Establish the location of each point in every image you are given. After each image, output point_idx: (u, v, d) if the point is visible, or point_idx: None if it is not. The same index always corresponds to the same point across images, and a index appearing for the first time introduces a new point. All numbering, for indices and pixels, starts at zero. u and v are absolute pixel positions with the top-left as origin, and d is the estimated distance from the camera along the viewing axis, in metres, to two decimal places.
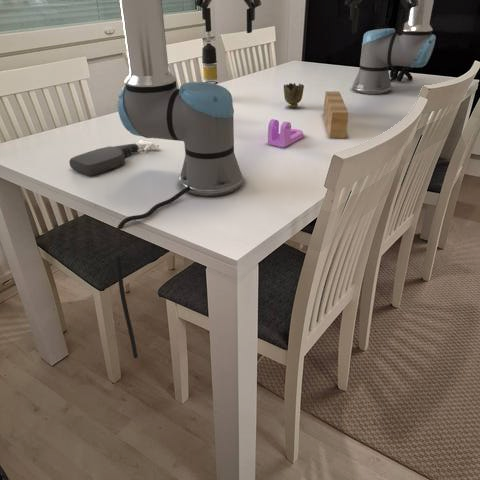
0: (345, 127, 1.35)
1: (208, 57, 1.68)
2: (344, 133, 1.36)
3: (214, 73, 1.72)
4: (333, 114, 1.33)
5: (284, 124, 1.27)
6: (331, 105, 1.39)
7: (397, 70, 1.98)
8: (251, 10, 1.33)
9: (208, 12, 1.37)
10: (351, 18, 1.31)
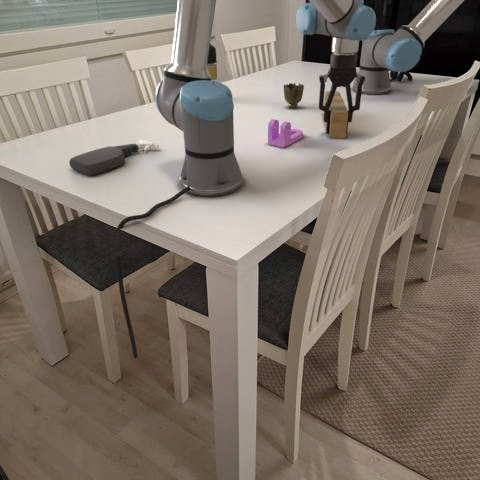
0: (345, 127, 1.35)
1: (208, 57, 1.68)
2: (344, 133, 1.36)
3: (214, 73, 1.72)
4: (333, 114, 1.33)
5: (284, 124, 1.27)
6: (331, 105, 1.39)
7: None
8: (349, 113, 1.36)
9: None
10: None
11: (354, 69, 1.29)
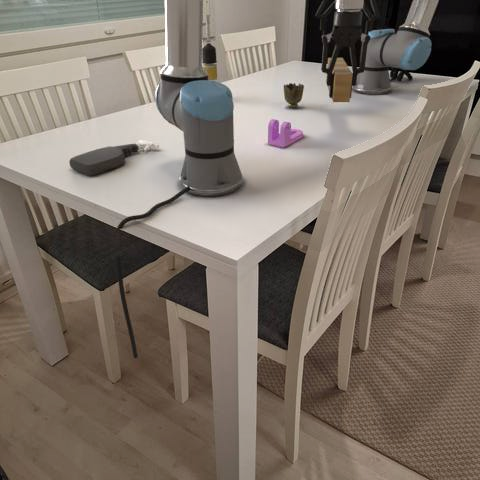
0: (349, 90, 1.29)
1: (208, 57, 1.68)
2: (348, 97, 1.30)
3: (214, 73, 1.72)
4: (337, 76, 1.27)
5: (284, 124, 1.27)
6: (334, 68, 1.33)
7: (397, 70, 1.98)
8: (353, 75, 1.30)
9: (333, 78, 1.32)
10: None
11: (359, 28, 1.23)
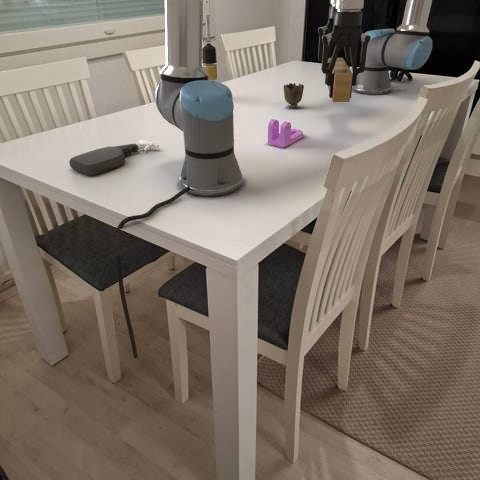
0: (349, 90, 1.29)
1: (208, 57, 1.68)
2: (348, 97, 1.30)
3: (214, 73, 1.72)
4: (337, 76, 1.27)
5: (284, 124, 1.27)
6: (334, 68, 1.33)
7: (397, 70, 1.98)
8: None
9: (333, 78, 1.32)
10: None
11: (359, 28, 1.23)
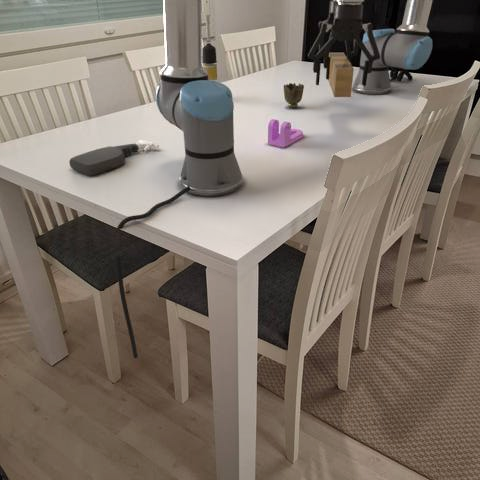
0: (350, 85, 1.28)
1: (208, 57, 1.68)
2: (349, 91, 1.29)
3: (214, 73, 1.72)
4: (338, 71, 1.27)
5: (284, 124, 1.27)
6: (335, 63, 1.33)
7: (397, 70, 1.98)
8: (370, 63, 1.27)
9: None
10: None
11: (360, 21, 1.22)
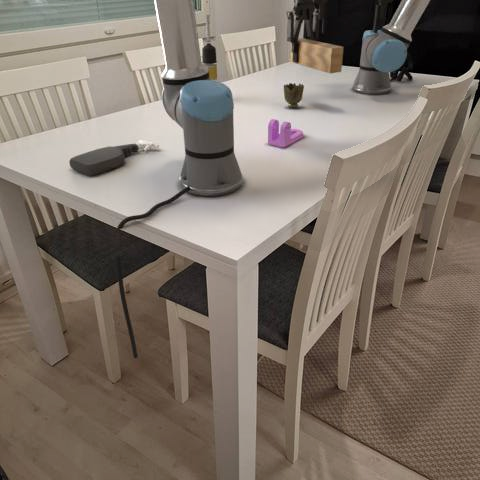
0: (341, 61, 1.51)
1: (208, 57, 1.68)
2: (340, 67, 1.52)
3: (214, 73, 1.72)
4: (332, 50, 1.47)
5: (284, 124, 1.27)
6: (320, 45, 1.53)
7: (397, 70, 1.98)
8: (382, 6, 1.15)
9: (326, 10, 1.17)
10: None
11: None
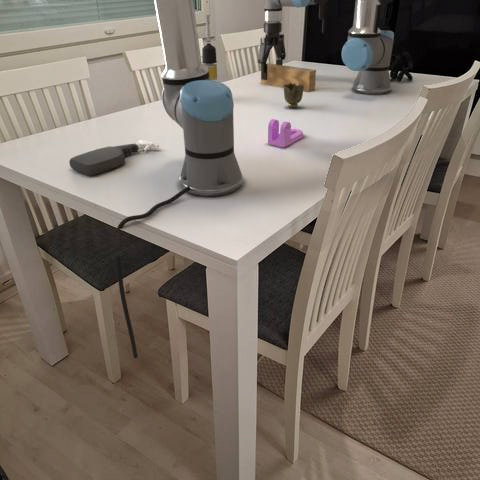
0: (314, 81, 1.87)
1: (208, 57, 1.68)
2: (314, 86, 1.88)
3: (214, 73, 1.72)
4: (310, 73, 1.82)
5: (284, 124, 1.27)
6: (295, 69, 1.86)
7: (397, 70, 1.98)
8: (382, 6, 1.15)
9: (326, 10, 1.17)
10: None
11: None
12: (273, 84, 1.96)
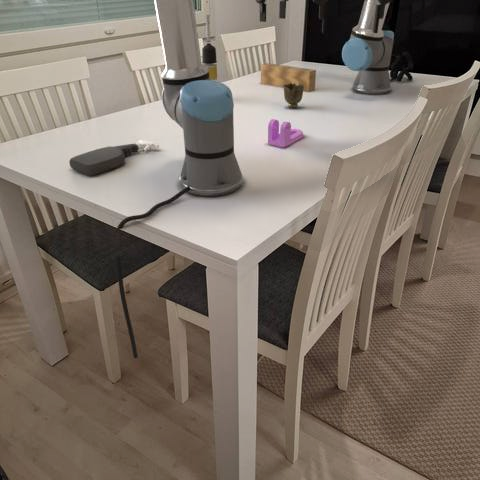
0: (314, 81, 1.87)
1: (208, 57, 1.68)
2: (314, 86, 1.88)
3: (214, 73, 1.72)
4: (310, 73, 1.82)
5: (284, 124, 1.27)
6: (295, 69, 1.86)
7: (397, 70, 1.98)
8: (382, 6, 1.15)
9: (326, 10, 1.17)
10: None
11: None
12: (273, 84, 1.96)
